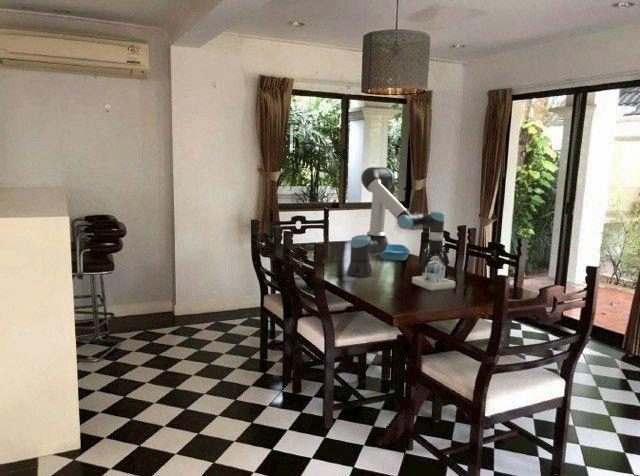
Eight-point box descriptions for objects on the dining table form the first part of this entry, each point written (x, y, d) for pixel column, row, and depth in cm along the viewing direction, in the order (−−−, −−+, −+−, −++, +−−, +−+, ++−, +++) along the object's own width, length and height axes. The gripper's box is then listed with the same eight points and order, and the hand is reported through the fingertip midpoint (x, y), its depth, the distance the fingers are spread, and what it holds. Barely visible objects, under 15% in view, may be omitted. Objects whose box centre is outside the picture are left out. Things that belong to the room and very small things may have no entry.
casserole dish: (373, 251, 382) (373, 242, 381) (402, 252, 382) (402, 243, 381) (379, 262, 345) (380, 251, 344) (412, 262, 346) (412, 252, 345)
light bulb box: (434, 284, 278) (436, 265, 276) (423, 282, 282) (424, 263, 280) (442, 280, 286) (444, 262, 284) (431, 278, 290) (433, 260, 288)
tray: (431, 290, 273) (432, 284, 272) (412, 283, 289) (412, 277, 288) (455, 288, 280) (455, 282, 279) (434, 280, 296) (434, 274, 295)
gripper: (422, 241, 272) (420, 280, 275) (457, 239, 282) (454, 276, 285) (414, 239, 278) (411, 277, 282) (448, 237, 289) (446, 274, 292)
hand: (433, 277), depth 284 cm, fingers closed on light bulb box, 12 cm apart
